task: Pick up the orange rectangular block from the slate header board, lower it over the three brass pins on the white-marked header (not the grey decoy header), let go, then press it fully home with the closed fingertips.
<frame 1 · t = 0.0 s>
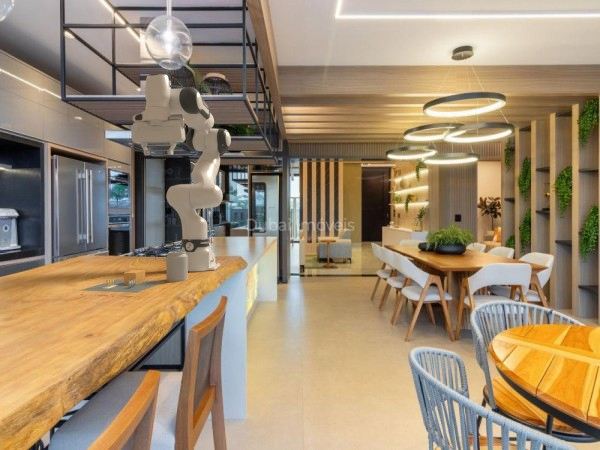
hand: (158, 154, 145), 48 cm above the counter, tool pointing down, fingers open, 8 cm apart
orange rectangular block: (135, 282, 138), point 1 cm above the counter, touching header board
header board: (126, 289, 133), on the counter
can: (177, 284, 144), on the counter
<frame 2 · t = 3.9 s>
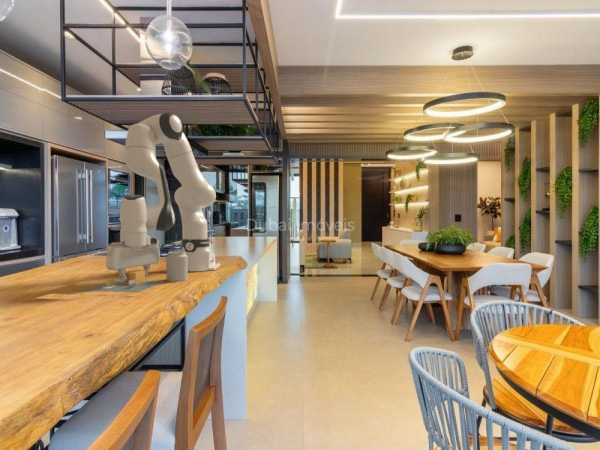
hand: (134, 279, 138), 3 cm above the counter, tool pointing down, fingers closed on orange rectangular block, 7 cm apart
orange rectangular block: (135, 282, 138), point 1 cm above the counter, touching gripper, header board
everything else where it was.
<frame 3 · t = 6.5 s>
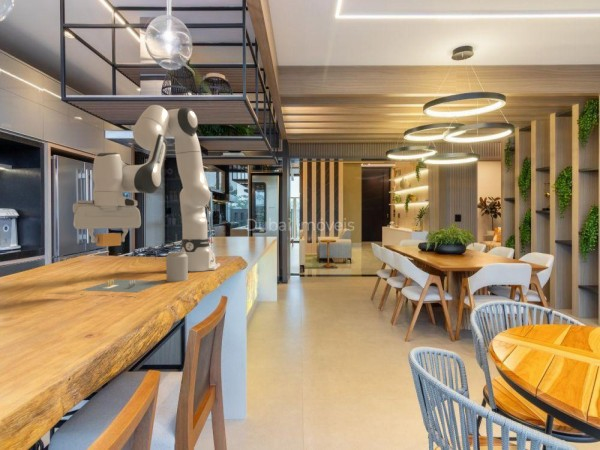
hand: (108, 242, 130), 17 cm above the counter, tool pointing down, fingers closed on orange rectangular block, 7 cm apart
orange rectangular block: (108, 245, 130), point 15 cm above the counter, touching gripper
everything else where it was.
when the fingers open (3 cm above the counter, at t = 9.1 s): orange rectangular block stays where it is, resting on header board.
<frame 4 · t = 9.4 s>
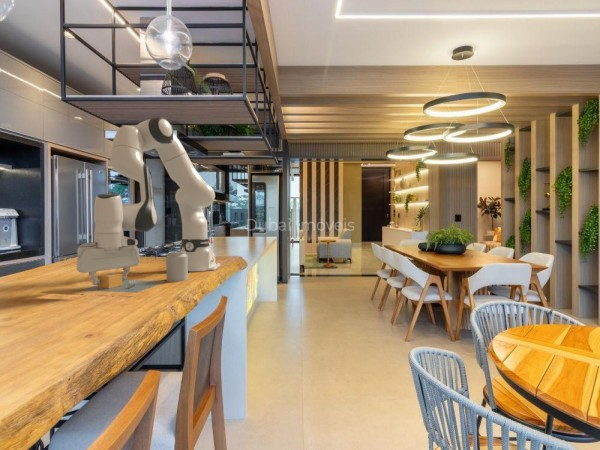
hand: (110, 282, 131), 3 cm above the counter, tool pointing down, fingers open, 8 cm apart
orange rectangular block: (110, 286, 131), point 2 cm above the counter, touching header board
everything else where it was.
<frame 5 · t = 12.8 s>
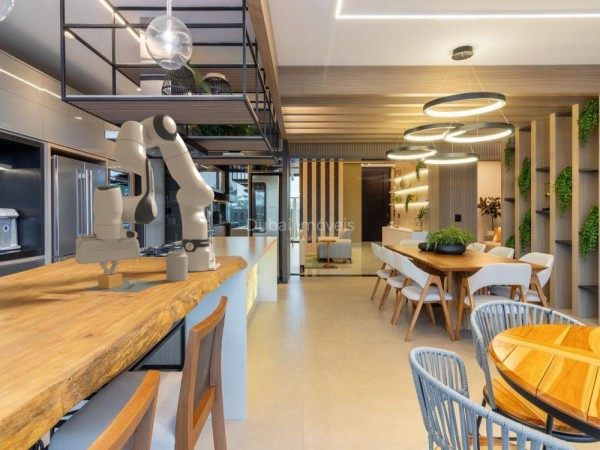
hand: (109, 274, 130), 6 cm above the counter, tool pointing down, fingers closed, pressing on orange rectangular block
orange rectangular block: (110, 286, 131), point 2 cm above the counter, touching gripper, header board
everything else where it was.
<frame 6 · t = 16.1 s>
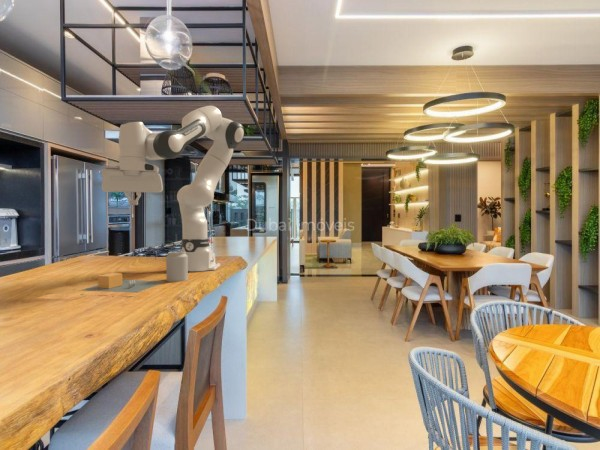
hand: (133, 205, 140), 29 cm above the counter, tool pointing down, fingers closed
orange rectangular block: (110, 286, 131), point 2 cm above the counter, touching header board
everything else where it was.
at the end: orange rectangular block 0.1 cm from the target spot on the header board, point 1.6 cm above the header board's base; orange rectangular block tilted 0°; the gripper is holding nothing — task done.
